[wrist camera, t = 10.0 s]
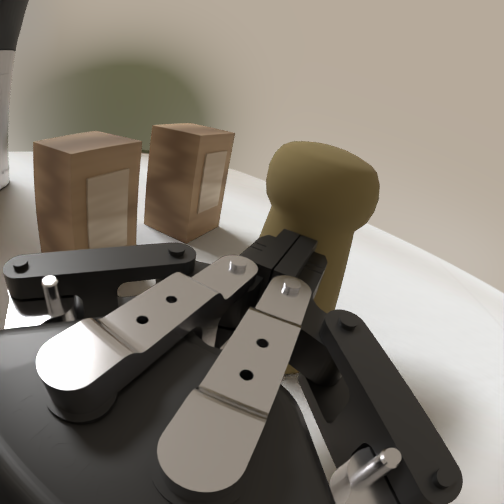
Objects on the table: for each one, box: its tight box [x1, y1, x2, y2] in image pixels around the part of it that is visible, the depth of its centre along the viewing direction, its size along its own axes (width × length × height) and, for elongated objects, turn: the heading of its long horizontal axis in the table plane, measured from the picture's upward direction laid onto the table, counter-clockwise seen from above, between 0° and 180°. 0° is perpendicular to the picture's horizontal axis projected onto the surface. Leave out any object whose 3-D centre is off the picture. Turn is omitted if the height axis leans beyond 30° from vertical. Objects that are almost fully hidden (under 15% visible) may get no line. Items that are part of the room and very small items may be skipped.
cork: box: [259, 141, 380, 374], centre depth 15 cm, size 6×6×11 cm
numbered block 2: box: [144, 123, 235, 244], centre depth 26 cm, size 5×5×9 cm
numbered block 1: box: [33, 131, 142, 253], centre depth 17 cm, size 5×5×9 cm
